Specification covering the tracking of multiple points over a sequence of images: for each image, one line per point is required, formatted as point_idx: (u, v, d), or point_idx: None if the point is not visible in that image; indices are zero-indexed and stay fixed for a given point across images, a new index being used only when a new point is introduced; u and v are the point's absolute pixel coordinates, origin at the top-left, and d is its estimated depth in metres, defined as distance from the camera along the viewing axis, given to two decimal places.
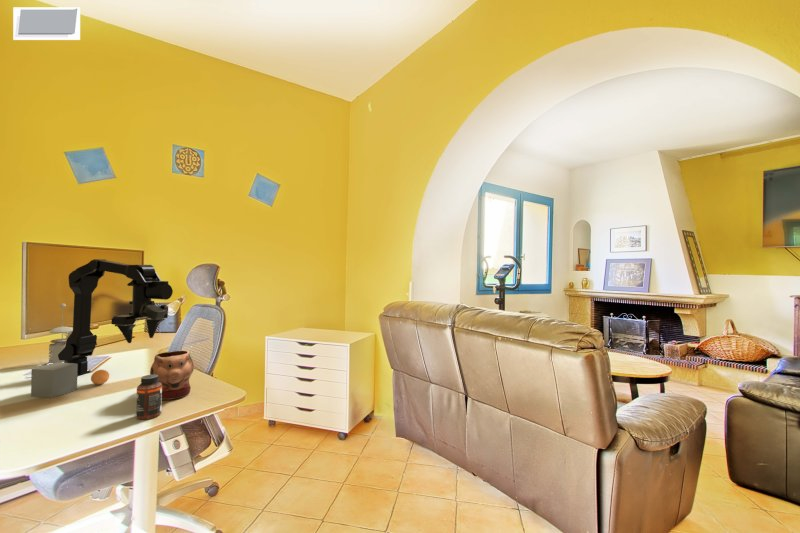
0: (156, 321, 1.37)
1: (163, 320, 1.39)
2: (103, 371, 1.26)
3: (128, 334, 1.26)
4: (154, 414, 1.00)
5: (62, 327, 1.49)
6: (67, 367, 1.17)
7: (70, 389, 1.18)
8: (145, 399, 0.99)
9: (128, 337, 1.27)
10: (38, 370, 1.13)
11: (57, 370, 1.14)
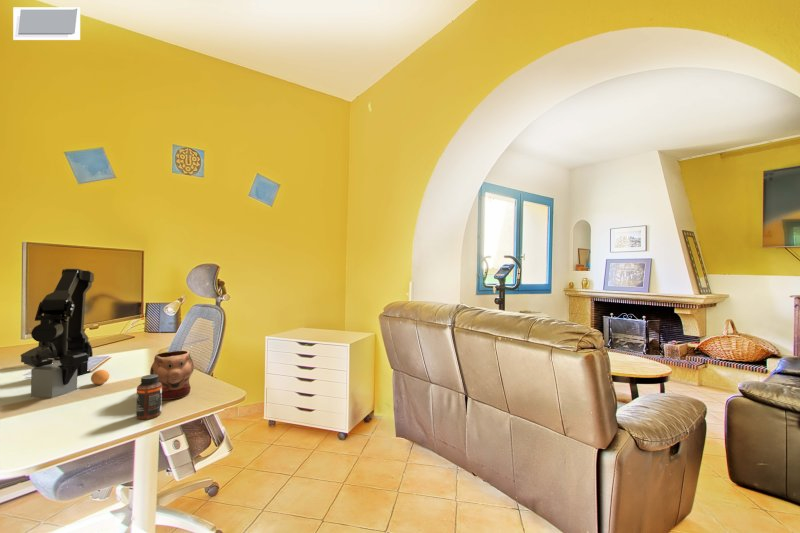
0: None
1: (64, 367, 1.13)
2: (103, 371, 1.26)
3: None
4: (154, 414, 1.00)
5: None
6: None
7: (70, 389, 1.18)
8: (145, 399, 0.99)
9: None
10: (38, 370, 1.13)
11: (57, 370, 1.14)
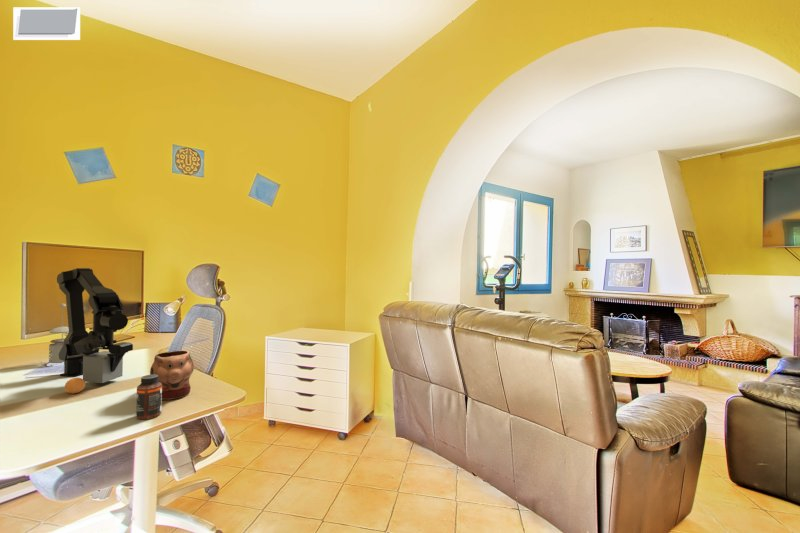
0: None
1: (112, 355, 1.23)
2: None
3: None
4: (154, 414, 1.00)
5: (62, 327, 1.49)
6: None
7: (117, 375, 1.29)
8: (145, 399, 0.99)
9: None
10: (89, 357, 1.23)
11: (106, 357, 1.24)
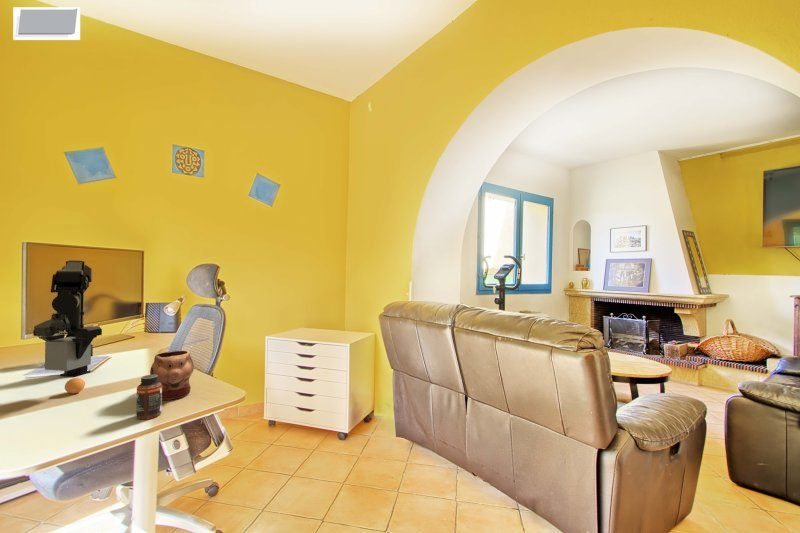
0: None
1: (78, 340, 1.11)
2: None
3: None
4: (154, 414, 1.00)
5: None
6: None
7: (84, 363, 1.16)
8: (145, 399, 0.99)
9: None
10: (52, 343, 1.11)
11: (71, 343, 1.12)
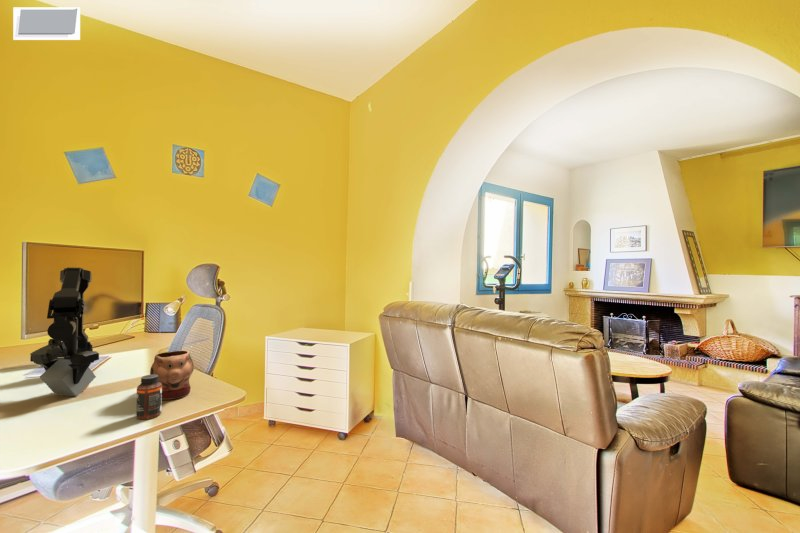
0: None
1: (75, 366, 1.11)
2: None
3: None
4: (154, 414, 1.00)
5: None
6: None
7: (90, 380, 1.19)
8: (145, 399, 0.99)
9: None
10: (47, 378, 1.10)
11: (66, 376, 1.11)
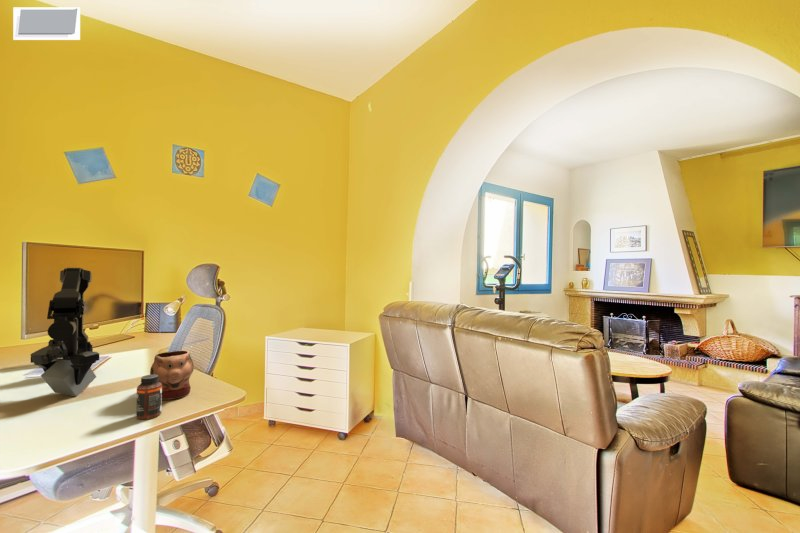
0: None
1: (77, 366, 1.10)
2: None
3: None
4: (154, 414, 1.00)
5: None
6: None
7: (90, 380, 1.19)
8: (145, 399, 0.99)
9: None
10: (48, 377, 1.10)
11: (68, 376, 1.11)
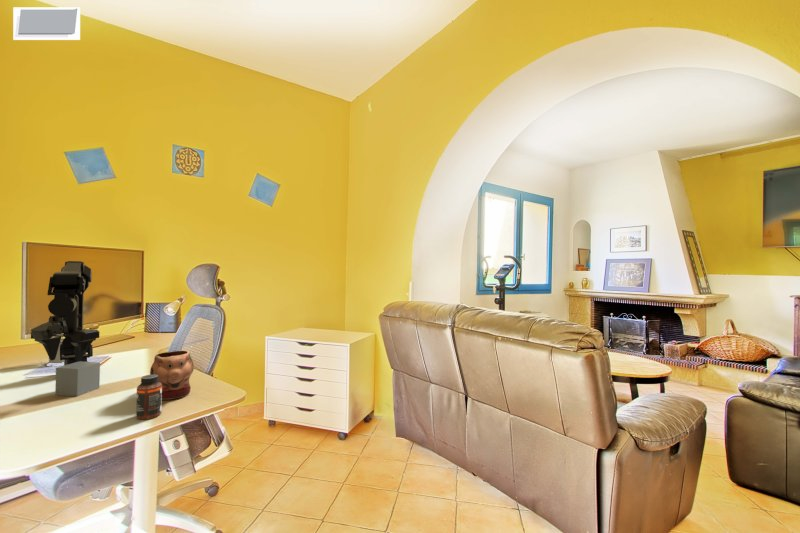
0: None
1: (77, 343, 1.10)
2: None
3: None
4: (154, 414, 1.00)
5: None
6: (90, 366, 1.19)
7: (93, 388, 1.20)
8: (145, 399, 0.99)
9: None
10: (63, 369, 1.15)
11: (82, 369, 1.16)
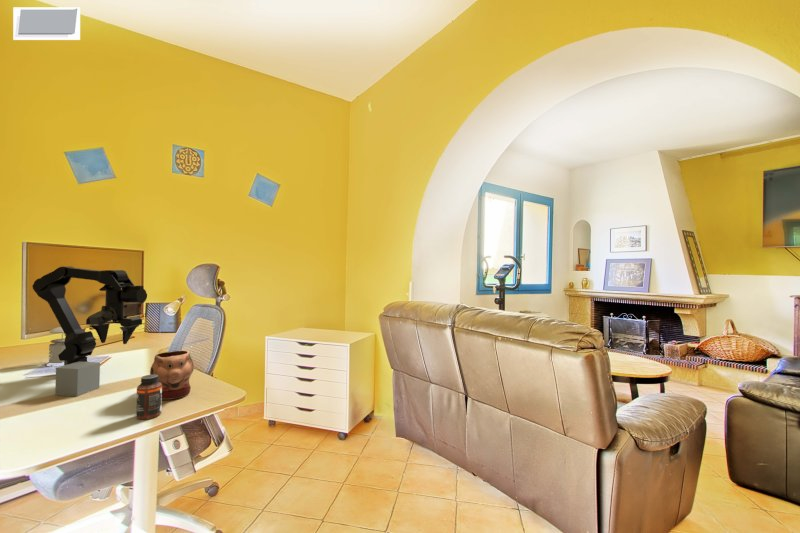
0: None
1: (125, 328, 1.33)
2: None
3: None
4: (154, 414, 1.00)
5: None
6: (90, 366, 1.19)
7: (93, 388, 1.20)
8: (145, 399, 0.99)
9: None
10: (63, 369, 1.15)
11: (82, 369, 1.16)
